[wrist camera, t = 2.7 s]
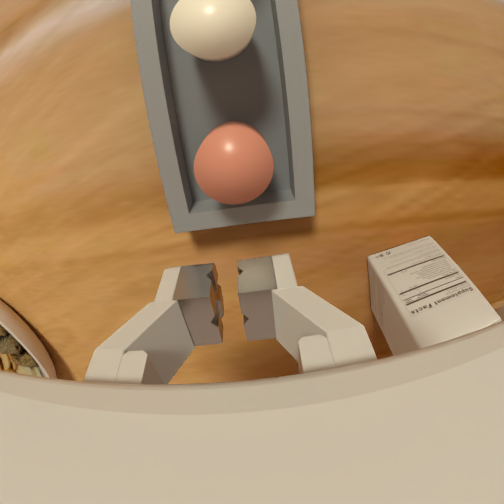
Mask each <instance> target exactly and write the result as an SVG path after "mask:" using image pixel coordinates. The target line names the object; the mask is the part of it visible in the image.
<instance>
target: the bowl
mask: <svg viewBox="0 0 504 504" xmlns="http://www.w3.org/2000/svg"><path fill="white" fill-rule="evenodd" d="M0 370H3V371H9V372H14V373H20V374H26V375H33V376H39V377H47V378H55V379H57V376H56V371H55V367H54V365H53V362H52V360H51V358H50V356H49V354H48V352H47V350H46V349H45V347H44V346H43V344H42V343H41V341H40V340H39V338H38V337H37V336H36V335H35V333H34V332H33V331H32V330H31V329H30V327H29V326H28V325H27V324H26V323H25V322H24V321H23V320H22V319H21V318H20V317H19V316H18V315H17V314H16V313H15V312H14V311H13V310H12V309H11V308H10V307H9V306H7V305H6V304H5V303H4V302H3V301H1V300H0Z"/></svg>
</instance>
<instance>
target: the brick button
mask: <svg viewBox="0 0 504 504" xmlns="http://www.w3.org/2000/svg"><path fill="white" fill-rule="evenodd" d="M273 170H274V163H273V157H272V154H271V152H270V150H269V147H268V145H267V143H266V141H265V139H264V137H263V135H262V134H261V133H260V132H259V131H258V130H257V129H256V128H255V127H253V126H252V125H250V124H248V123H245V122H240V121H229V122H224V123H222V124H219V125H217V126H216V127H214V128H213V129H212V130H211V131H210V132H209V133H208V134H207V135H206V137H205V138H204V140H203V142H202V144H201V145H200V147H199V149H198V151H197V153H196V156H195V160H194V174H195V178H196V181H197V183H198V185H199V186H200V188H201V189H202V191H203V192H204V193H205V194H206V195H208V196H209V197H210V198H212V199H214V200H216V201H218V202H221V203H224V204H242V203H246V202H249V201H251V200H253V199H255V198H257V197H258V196H259V195H261V194H262V193H263V192H264V191H265V190H266V188H267V187H268V185H269V183H270V181H271V179H272V176H273Z"/></svg>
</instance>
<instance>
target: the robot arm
mask: <svg viewBox="0 0 504 504" xmlns="http://www.w3.org/2000/svg"><path fill="white" fill-rule="evenodd" d="M238 273H239V276H238V296H239V302H240V307H241V313H242V314H244V327H245V332H246V337H247V341H250V340H262V339H272V338H276V339H277V340H278V342H279V343H280V344H281V345H282V346H283V347H284V348H285V349H286V350H287V351H288V352H289V353H290V354H291V355H292V356H293V357H294V358H295V360H296V361H297V362H298V374H296V375H289V376H281V377H273V378H264V379H255V380H244V381H232V382H218V383H198V384H168V383H169V381H170V380H171V379H172V377H173V376H174V375H175V373H176V372H177V371H178V369H179V368H180V367H181V365H182V364H183V363H184V361H185V360H186V359H187V357H188V356H189V355H190V353H191V352H192V351H193V349H194V348H195V347H194V346H199V345H209V344H219V343H223V324H222V320H221V318H222V317H223V316H224V306H223V296H222V291H221V286H219V285H218V284H217V280H218V273H217V270H216V266H215V264H214V263H210V264H200V265H190V266H182V267H181V266H179V267H171V268H166V269H165V270H164V272H163V275H162V279H161V282H160V285H159V288H158V291H157V294H156V298H155V301H154V302H152V303H149V304H147V305H146V306H145V307H144V308H143V309H142V310H140V311H139V312H138V313H137V314H136V315H134V316H133V317H132V318H131V319H130V320H129V321H127V322H126V323H125V324H124V325H123V326H122V327H120V328H119V329H118V330H117V331H116V332H115V333H114V334H112V335H111V336H110V337H109V338H108V339H107V340H105V341H104V342H103V343H102V344H101V345H100V346H99V347H97V348H96V349H95V351H94V354H93V356H92V359H91V362H90V364H89V367H88V370H87V373H86V375H85V378H84V381H73V380H64V379H55V378H47V377H39V376H33V375H26V374H20V373H14V372H9V371H3V370H0V504H504V320H503V321H501V322H498V323H496V324H493V325H490V326H488V327H485V328H482V329H480V330H477V331H474V332H471V333H468V334H466V335H463V336H460V337H457V338H454V339H450V340H447V341H444V342H441V343H438V344H434V345H431V346H428V347H424V348H421V349H417V350H413V351H410V352H406V353H402V354H398V355H394V356H390V357H386V358H382V359H378V360H377V357H376V355H375V352H374V350H373V347H372V345H371V342H370V340H369V337H368V335H367V332H366V330H365V327H364V325H362V324H360V323H359V322H357V321H356V320H354V319H353V318H351V317H350V316H348V315H347V314H345V313H344V312H342V311H341V310H339V309H337V308H336V307H334V306H333V305H331V304H330V303H328V302H327V301H325V300H324V299H322V298H321V297H319V296H318V295H316V294H314V293H313V292H311V291H310V290H308V289H307V288H305V287H304V286H298V285H297V281H296V277H295V274H294V270H293V266H292V262H291V259H290V255H289V254H288V253H285V254H279V255H273V256H272V257H271V256H267V257H260V258H253V259H246V260H239V261H238Z"/></svg>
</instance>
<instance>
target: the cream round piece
mask: <svg viewBox="0 0 504 504" xmlns="http://www.w3.org/2000/svg"><path fill="white" fill-rule="evenodd" d="M255 25H256V12H255V8H254V6H253V4H252V2H251V1H250V0H179V1H178V2H177V4H176V5H175V7H174V9H173V11H172V13H171V17H170V30H171V34H172V36H173V38H174V40H175V41H176V43H177V44H178V45H179V46H180V47H181V48H182V49H184V50H185V51H187V52H189V53H190V54H192V55H194V56H196V57H198V58H200V59H202V60H206V61H216V62H217V61H224V60H228V59H231V58H233V57H235V56H237V55H238V54H240V53H241V52H242V51H243V50H244V49H245V48H246V47H247V46H248V44H249V42H250V40H251V38H252V35H253V32H254V29H255Z"/></svg>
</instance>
